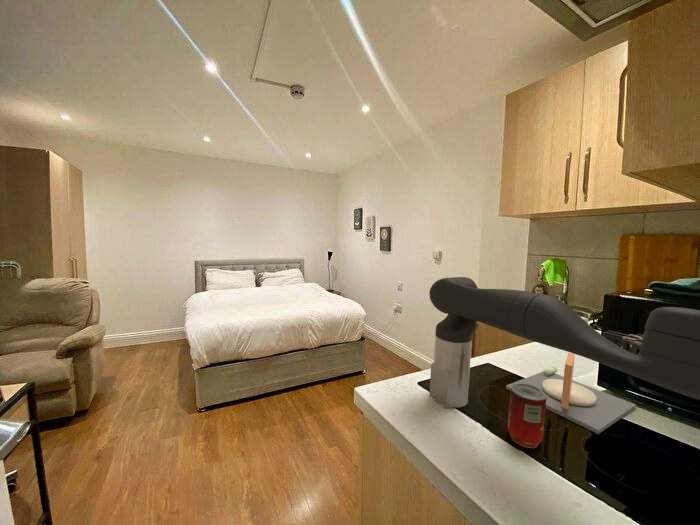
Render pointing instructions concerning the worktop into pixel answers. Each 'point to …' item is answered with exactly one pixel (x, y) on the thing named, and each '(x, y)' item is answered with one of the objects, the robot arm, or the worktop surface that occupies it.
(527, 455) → the worktop surface
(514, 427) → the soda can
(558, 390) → the dial lever
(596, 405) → the board
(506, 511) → the worktop surface
